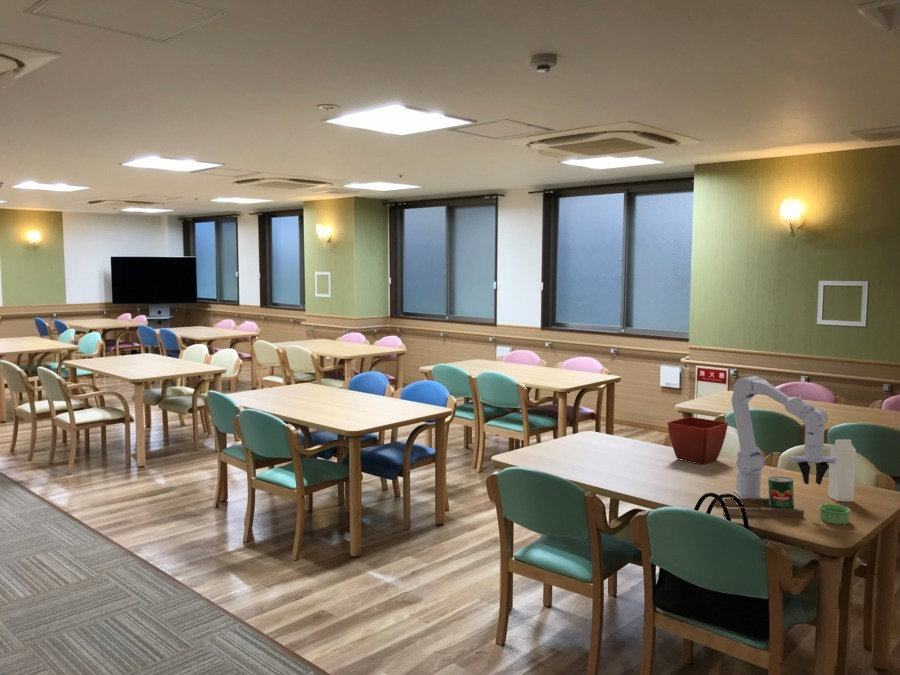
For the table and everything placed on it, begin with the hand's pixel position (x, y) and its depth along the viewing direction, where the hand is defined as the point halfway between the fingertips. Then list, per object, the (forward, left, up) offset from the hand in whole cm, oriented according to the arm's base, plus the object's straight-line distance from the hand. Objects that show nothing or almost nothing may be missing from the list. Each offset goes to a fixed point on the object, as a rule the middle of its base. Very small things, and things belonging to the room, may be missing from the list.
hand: (812, 483), depth 247 cm
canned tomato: (0, -10, -10) cm, 14 cm away
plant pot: (-68, -20, -10) cm, 72 cm away
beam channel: (0, -18, -10) cm, 21 cm away
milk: (-15, +17, -10) cm, 25 cm away
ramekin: (+9, +4, -10) cm, 14 cm away
